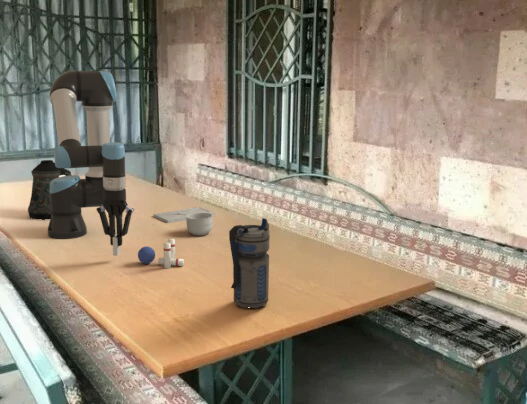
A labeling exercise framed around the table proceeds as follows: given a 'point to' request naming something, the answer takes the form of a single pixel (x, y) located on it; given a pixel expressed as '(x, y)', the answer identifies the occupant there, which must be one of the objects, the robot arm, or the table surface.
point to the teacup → (199, 223)
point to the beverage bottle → (250, 264)
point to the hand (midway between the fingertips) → (116, 254)
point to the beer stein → (43, 188)
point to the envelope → (180, 214)
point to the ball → (146, 255)
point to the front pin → (172, 262)
